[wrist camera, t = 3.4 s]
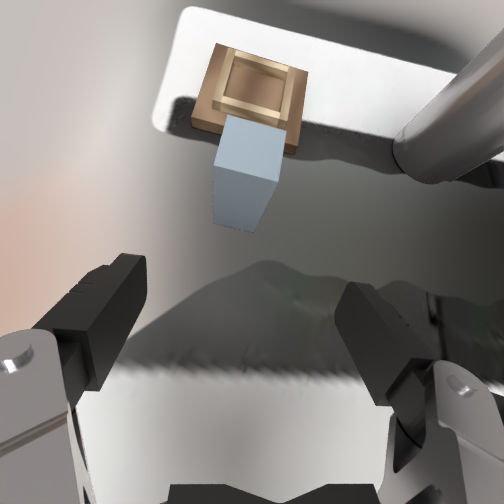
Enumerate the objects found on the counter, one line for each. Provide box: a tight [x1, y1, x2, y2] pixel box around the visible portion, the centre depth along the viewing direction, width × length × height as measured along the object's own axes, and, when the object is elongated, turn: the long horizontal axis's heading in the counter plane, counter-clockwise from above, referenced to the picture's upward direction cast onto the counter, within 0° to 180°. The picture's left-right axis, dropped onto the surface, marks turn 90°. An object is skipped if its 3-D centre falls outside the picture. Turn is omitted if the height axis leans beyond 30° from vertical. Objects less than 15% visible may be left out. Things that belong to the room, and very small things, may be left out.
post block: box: [213, 115, 287, 233], centre depth 22 cm, size 5×5×10 cm
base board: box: [191, 43, 308, 154], centre depth 30 cm, size 13×13×3 cm
